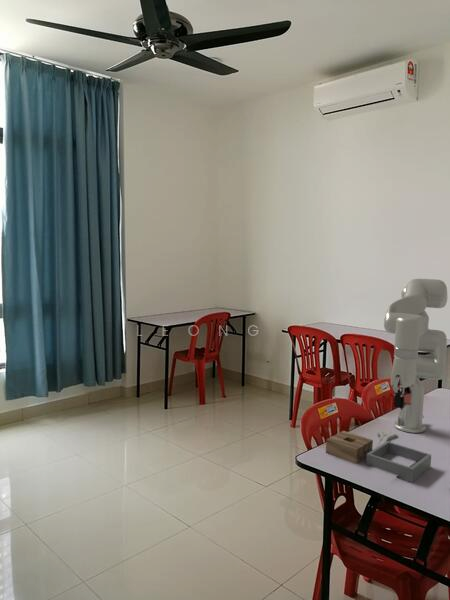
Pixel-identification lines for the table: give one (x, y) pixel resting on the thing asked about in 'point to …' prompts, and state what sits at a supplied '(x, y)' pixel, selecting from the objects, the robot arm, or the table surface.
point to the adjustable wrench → (385, 436)
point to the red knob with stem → (403, 411)
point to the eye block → (349, 446)
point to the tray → (401, 470)
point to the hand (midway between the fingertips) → (402, 405)
